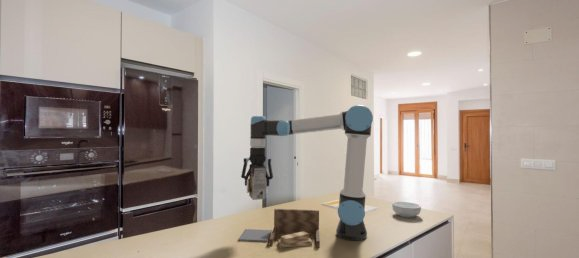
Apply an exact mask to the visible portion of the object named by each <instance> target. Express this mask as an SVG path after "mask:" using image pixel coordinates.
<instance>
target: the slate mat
mask: <svg viewBox="0 0 579 258" xmlns="http://www.w3.org/2000/svg"><path fill="white" fill-rule="evenodd" d="M272 231H273V229H251V228H250V229H249V228H248V229H247V228H245V229H244V230H243V232H242V233H241V234H240V236H239V237H238V239H237V240H238V242H258V243H259V242H260V243H269V238H270V236H271V233H272Z"/></svg>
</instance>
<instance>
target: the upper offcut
mask: <svg viewBox="0 0 579 258" xmlns="http://www.w3.org/2000/svg"><path fill="white" fill-rule="evenodd" d="M309 238H310V234H308V233H306V232H304V231H303V232H298V233H293V234H291V233H288V234H285V235H281V236H280V239H281V242H282V243H283V244H285V245H286V244H290V243H294V242H299V241H303V240H307V239H309Z"/></svg>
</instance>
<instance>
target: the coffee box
mask: <svg viewBox="0 0 579 258" xmlns="http://www.w3.org/2000/svg"><path fill="white" fill-rule="evenodd" d="M250 166H251V164H249V168H250ZM249 168H248V169H249ZM266 171H267V167H266V166H265V165H264V166H256V165H253V166H251V172H250V175H249V177H248V179H250V184H249V193H248V196H249V197H250V198H251V199H252V200H253V201H257V200H265V199H266V193H265V180H266Z"/></svg>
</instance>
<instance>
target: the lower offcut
mask: <svg viewBox="0 0 579 258" xmlns="http://www.w3.org/2000/svg"><path fill="white" fill-rule="evenodd" d="M277 244H278V247H279V248H291V247H307V246H308V247H309V246H312V245H313V241H312V239H311V238H310V237H309V239H307V240H303V241H299V242H294V243H290V244H286V245H285V244H283V243H282V242H281V238H280V239H279V238H278V242H277Z"/></svg>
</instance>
